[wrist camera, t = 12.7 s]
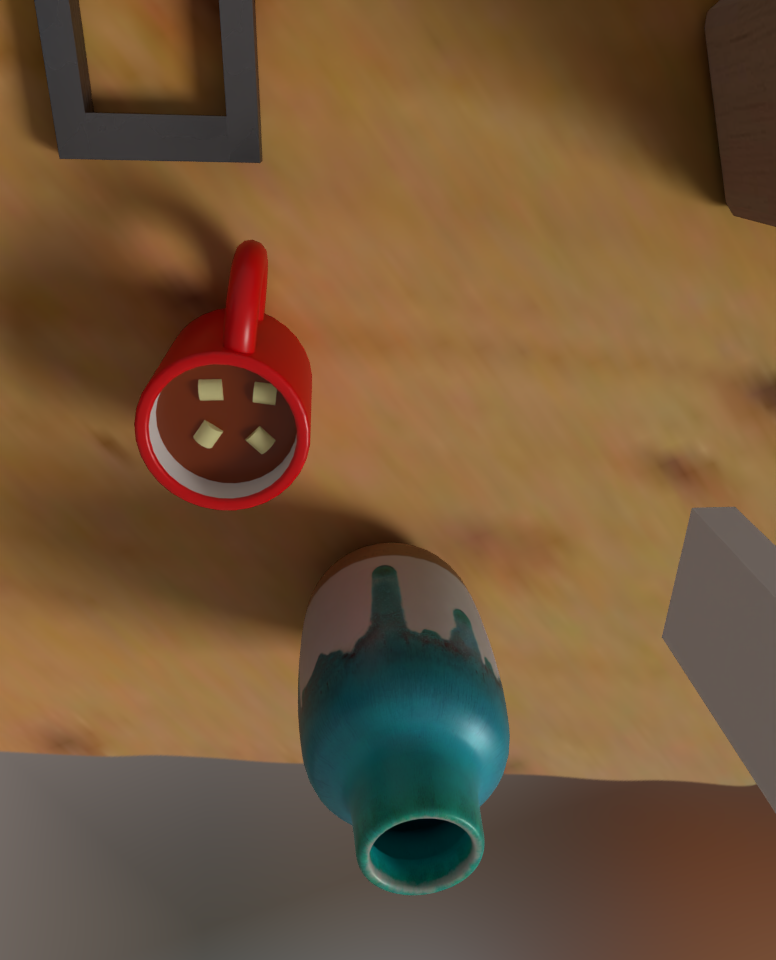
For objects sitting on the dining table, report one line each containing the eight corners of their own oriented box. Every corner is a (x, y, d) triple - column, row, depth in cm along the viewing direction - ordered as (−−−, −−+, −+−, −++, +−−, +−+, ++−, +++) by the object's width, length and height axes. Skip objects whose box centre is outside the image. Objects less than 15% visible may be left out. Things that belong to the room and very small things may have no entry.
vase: (290, 643, 49) (274, 930, 32) (316, 503, 44) (314, 751, 27) (445, 660, 51) (509, 941, 33) (485, 527, 46) (582, 775, 29)
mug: (330, 239, 38) (333, 269, 31) (303, 452, 43) (300, 520, 36) (171, 214, 36) (136, 239, 29) (163, 436, 42) (132, 502, 35)
